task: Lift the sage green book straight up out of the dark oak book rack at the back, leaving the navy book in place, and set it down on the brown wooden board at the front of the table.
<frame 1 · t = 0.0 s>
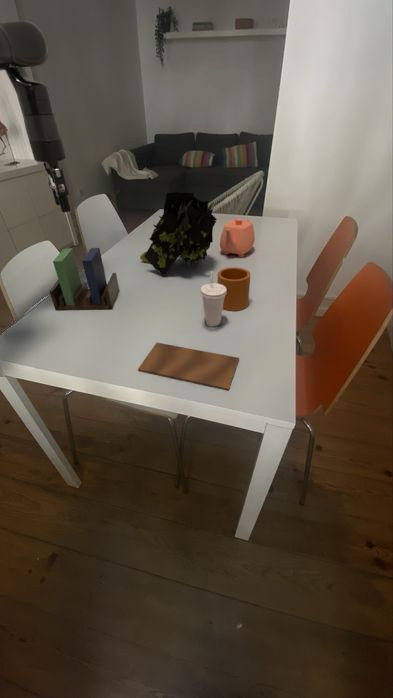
hand: (63, 208, 87), 23 cm above the table, tool pointing down, fingers open, 8 cm apart
brown wooden board: (189, 365, 70), on the table
green book: (75, 297, 93), point 1 cm above the table, touching book rack
navy book: (100, 297, 93), point 1 cm above the table, touching book rack
potted plant: (176, 267, 112), on the table
teapot: (235, 252, 121), on the table
smoothie: (213, 322, 83), on the table
mug: (235, 301, 92), on the table
book rack: (88, 300, 93), on the table
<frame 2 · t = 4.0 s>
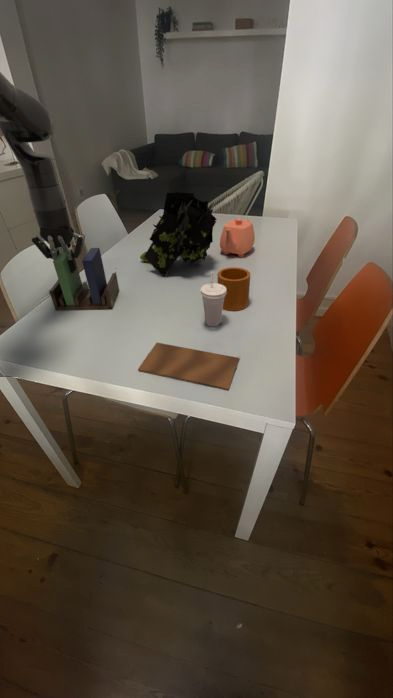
hand: (68, 271, 88), 9 cm above the table, tool pointing down, fingers closed on green book, 2 cm apart
green book: (75, 297, 93), point 1 cm above the table, touching book rack, gripper
everything else where it was.
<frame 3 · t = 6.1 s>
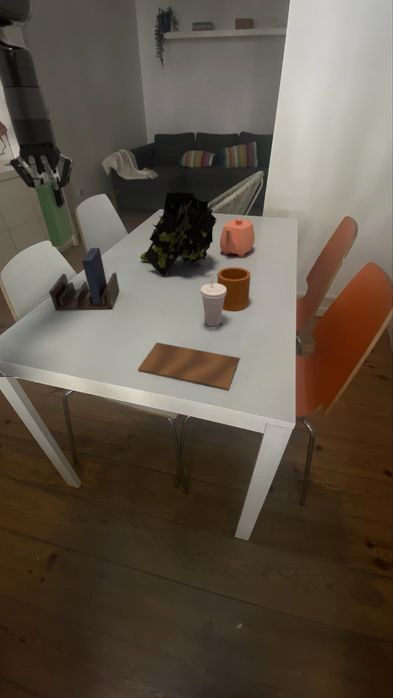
hand: (54, 206, 75), 27 cm above the table, tool pointing down, fingers closed on green book, 2 cm apart
green book: (63, 240, 80), point 19 cm above the table, touching gripper
everything else where it was.
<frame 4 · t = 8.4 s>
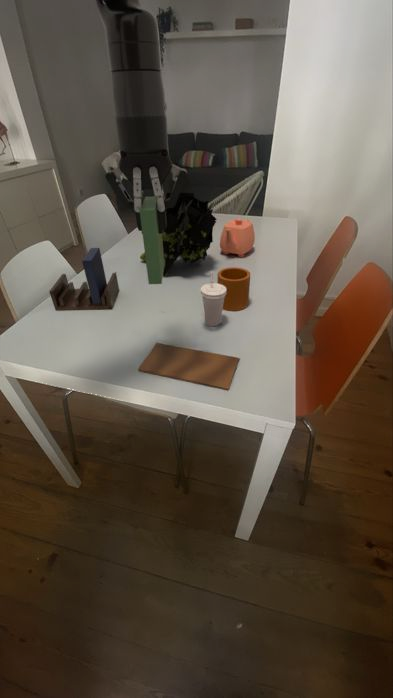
hand: (153, 232, 57), 27 cm above the table, tool pointing down, fingers closed on green book, 2 cm apart
green book: (157, 273, 62), point 19 cm above the table, touching gripper
everything else where it was.
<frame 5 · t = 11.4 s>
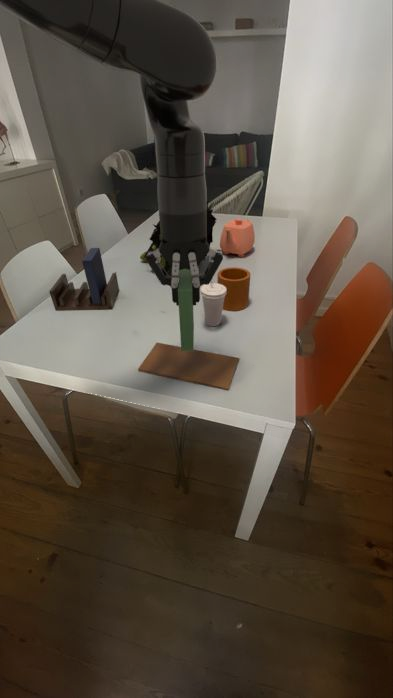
hand: (186, 303, 60), 16 cm above the table, tool pointing down, fingers closed on green book, 2 cm apart
green book: (187, 337, 65), point 8 cm above the table, touching gripper
everything else where it was.
when the fingers open (9 cm above the table, at t = 13.2 s): green book stays where it is, resting on brown wooden board.
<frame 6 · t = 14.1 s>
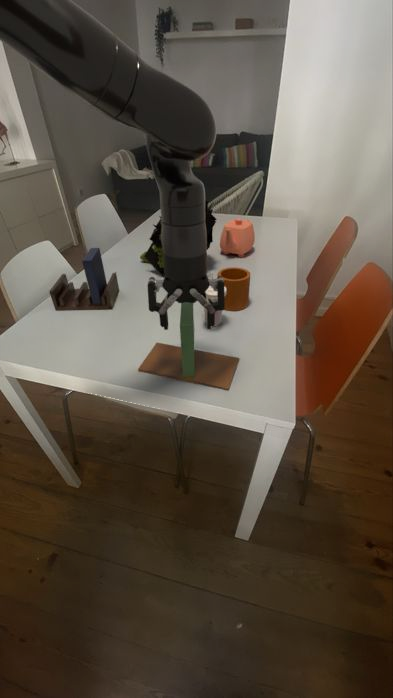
hand: (187, 327, 63), 10 cm above the table, tool pointing down, fingers open, 8 cm apart
green book: (189, 363, 69), point 1 cm above the table, touching brown wooden board
everything else where it was.
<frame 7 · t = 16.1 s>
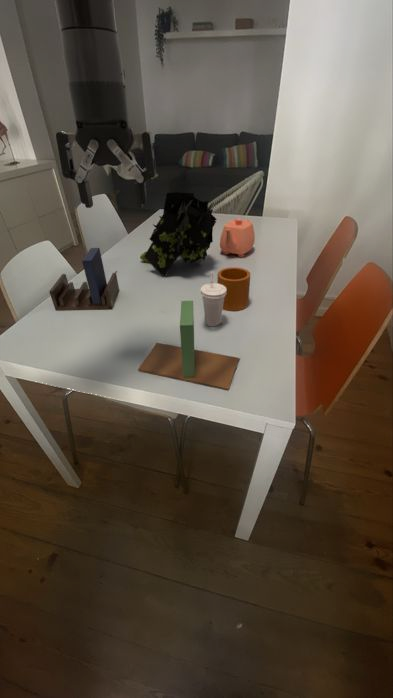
hand: (115, 206, 53), 32 cm above the table, tool pointing down, fingers open, 8 cm apart
nothing on the table moved.
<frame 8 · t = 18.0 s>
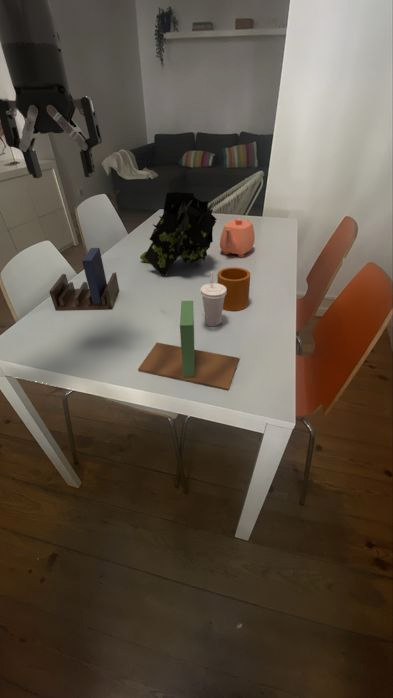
hand: (63, 177, 53), 36 cm above the table, tool pointing down, fingers open, 8 cm apart
nothing on the table moved.
at the end: green book inside the target area on the brown wooden board (0.1 cm from its centre), point 0.6 cm above the brown wooden board's base; green book touching brown wooden board; the gripper is holding nothing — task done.
